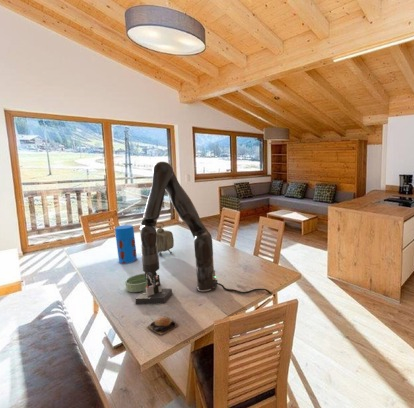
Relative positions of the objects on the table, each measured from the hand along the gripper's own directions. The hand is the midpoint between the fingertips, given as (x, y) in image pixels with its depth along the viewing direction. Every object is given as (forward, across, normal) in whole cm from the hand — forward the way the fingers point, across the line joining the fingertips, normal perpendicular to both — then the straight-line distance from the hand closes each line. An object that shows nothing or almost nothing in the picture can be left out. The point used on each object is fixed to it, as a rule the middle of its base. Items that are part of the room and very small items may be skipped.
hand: (153, 290), depth 145 cm
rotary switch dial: (+5, 0, 0) cm, 5 cm away
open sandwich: (+5, -29, +7) cm, 30 cm away
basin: (+5, +20, 0) cm, 20 cm away
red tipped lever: (+2, 0, 0) cm, 2 cm away
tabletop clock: (+5, +64, -29) cm, 71 cm away
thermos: (+5, +70, -8) cm, 70 cm away
